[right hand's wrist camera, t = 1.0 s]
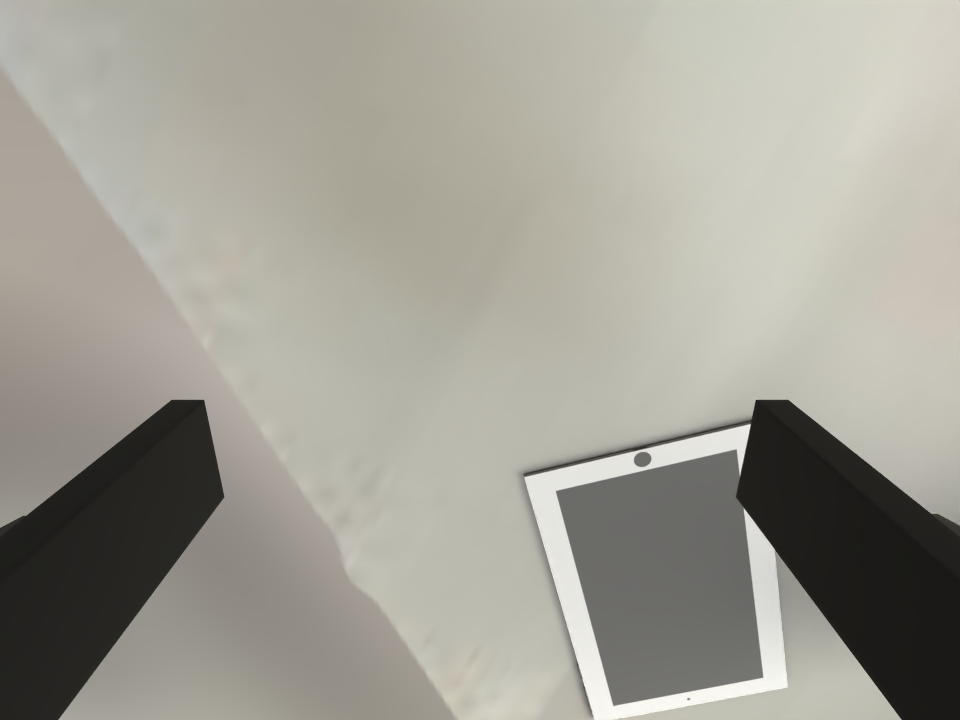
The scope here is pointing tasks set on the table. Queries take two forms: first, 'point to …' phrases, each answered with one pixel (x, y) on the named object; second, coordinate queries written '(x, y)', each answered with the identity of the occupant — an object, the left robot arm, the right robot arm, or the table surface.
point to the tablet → (662, 575)
